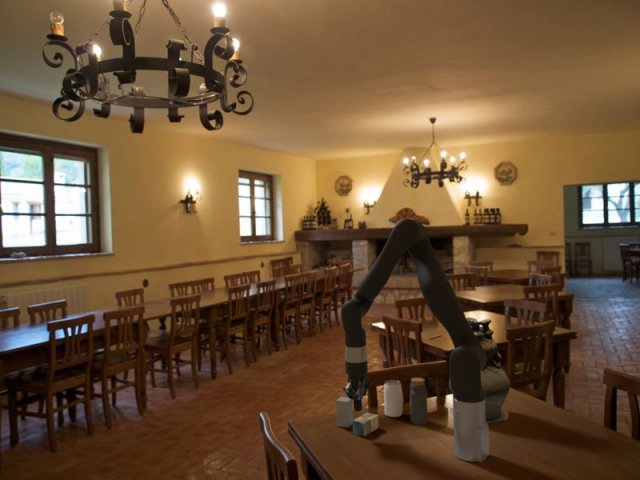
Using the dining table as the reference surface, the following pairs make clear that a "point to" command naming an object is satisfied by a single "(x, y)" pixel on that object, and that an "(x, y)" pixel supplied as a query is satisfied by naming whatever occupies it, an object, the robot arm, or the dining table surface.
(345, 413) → the grey block
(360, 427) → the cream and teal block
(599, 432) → the dining table surface
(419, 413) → the bottle
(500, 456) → the dining table surface
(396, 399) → the can
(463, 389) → the robot arm
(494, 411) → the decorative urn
